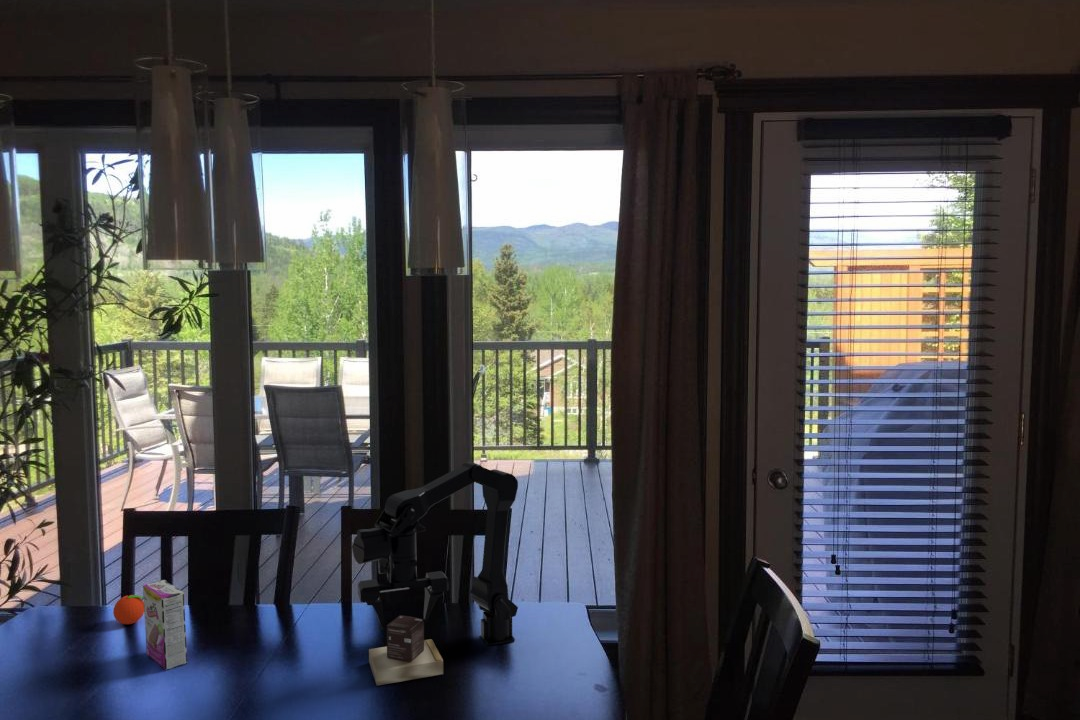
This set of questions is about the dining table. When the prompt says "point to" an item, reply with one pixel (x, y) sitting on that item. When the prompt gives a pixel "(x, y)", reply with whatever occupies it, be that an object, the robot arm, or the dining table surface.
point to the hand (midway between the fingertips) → (404, 625)
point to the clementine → (129, 609)
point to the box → (405, 638)
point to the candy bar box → (165, 624)
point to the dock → (405, 665)
